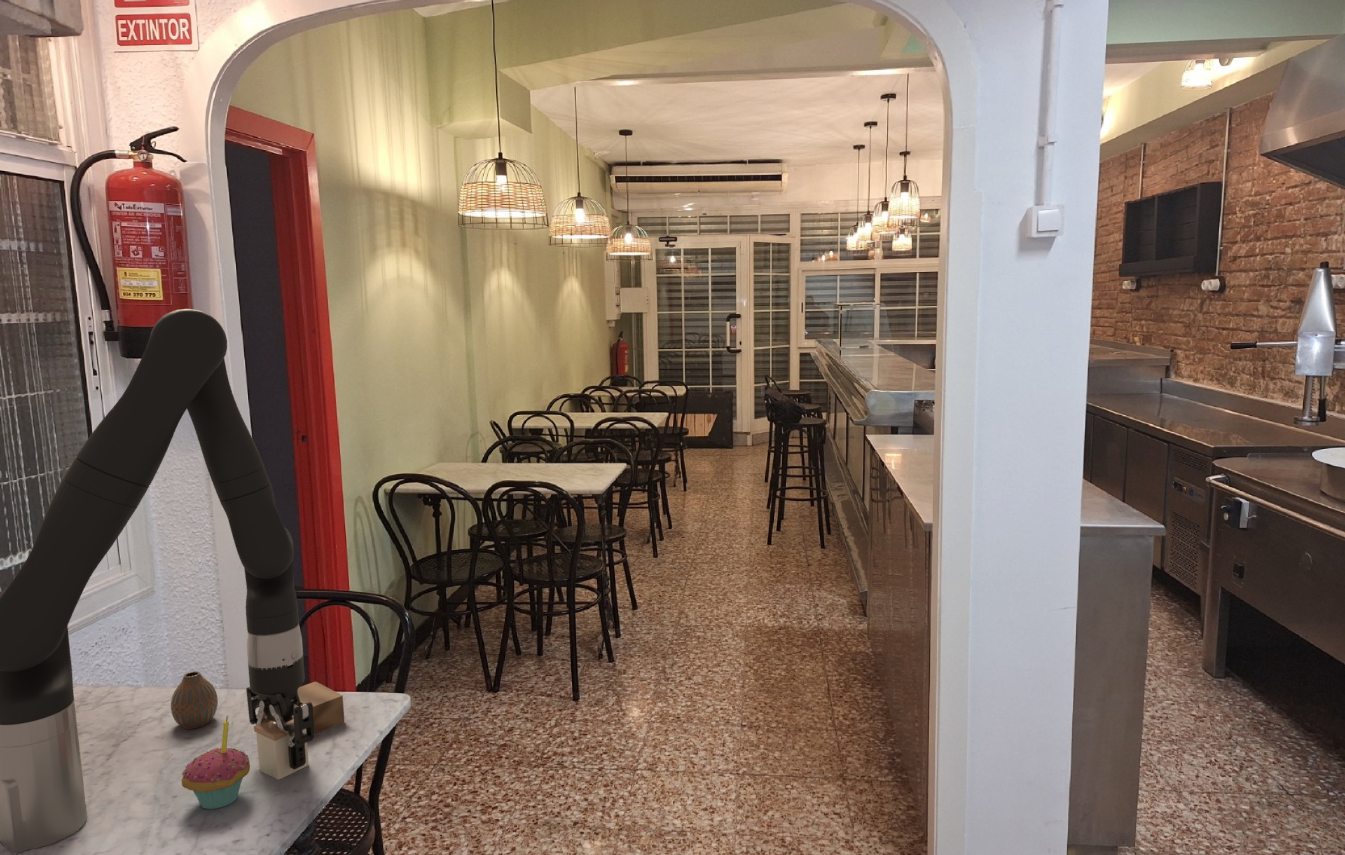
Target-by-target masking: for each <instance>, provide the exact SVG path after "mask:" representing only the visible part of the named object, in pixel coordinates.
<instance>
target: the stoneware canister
mask: <svg viewBox="0 0 1345 855" xmlns="http://www.w3.org/2000/svg"><path fill="white" fill-rule="evenodd" d="M292 723H294V718H293V720H291V721H288V722H286V723H285V724H286V725H289V724H292ZM253 731H254V732H255V733H256V743H257V744H256V745H257V757H258V770H259V771H260V772H262V773H264V774H266V775H268V776H270V777H272V778H274V779H276V780H277V781H279V780H281V779H283V778H285V777H287V776H289V775H291V774H293V773H296V772H297V771H299V770H302V769H304V768H306V767H308V766H310V764H309V763H310V762H309V750H308V742H306V743H305V755H306V763H305V764H304V765H303V766H301V767H299V768H297V769H292V768H290V764H289V751H288V746H289V744H288V741H287V739H286V736H285V734H284V733H281V732H280V730H279V728H278V725H277V723H276V722H275V721H271V720H268V721H265V722H263V723H261V724H258V725H256V724H255V725H253ZM305 731H306V729H305ZM291 732H292V734H293V737H294V729H291Z"/></svg>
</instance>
